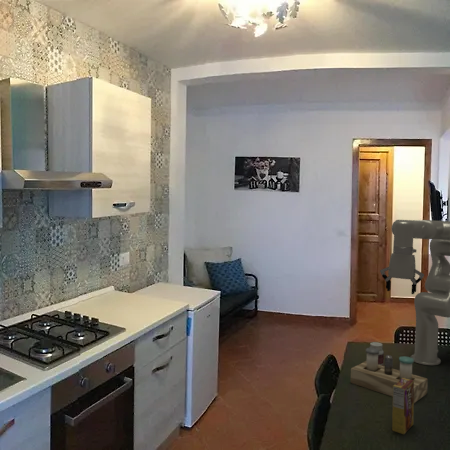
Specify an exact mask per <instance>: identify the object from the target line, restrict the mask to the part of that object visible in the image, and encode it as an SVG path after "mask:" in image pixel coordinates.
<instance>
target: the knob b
mask: <svg viewBox="0 0 450 450" xmlns="http://www.w3.org/2000/svg"><path fill="white" fill-rule="evenodd" d="M398 361H399V371H400V377H399V379H400V380H401V379H402V378H405V379H410V380H412V374H413V364H414V363H415V362H414V359H413V358H411V356H410V357H409V356H404V355H403V356H399V357H398Z"/></svg>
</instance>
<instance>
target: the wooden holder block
mask: <svg viewBox="0 0 450 450" xmlns="http://www.w3.org/2000/svg"><path fill="white" fill-rule="evenodd" d="M366 362H367V360H365V361H363V362H362V363H360V364H357V365H355V366H353V367H351V368H350V384H353V385H356V386H359V387H362V388H365V389H368V390H371V391H373V392H374V391H375V392H377V393H380V394H384V395H387V396H390V397H392V398H393V386H394V385H395V384H396V383H397V382H398V381H400V379H399V377H400V369H395V368H393V369H392V375H387V374H385V373H384V368H385V365H383V366H382V365H378V370H377V371H369V370H367V369H366ZM412 380H413V381H414V404H415V403H416V402H418V401H419V400H420V399H422V398H423V397H425V396H426V395H427V394H428V378H426V377H423V376H420V375H416V374H413V373H412Z"/></svg>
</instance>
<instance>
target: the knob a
mask: <svg viewBox="0 0 450 450" xmlns="http://www.w3.org/2000/svg"><path fill="white" fill-rule="evenodd" d="M365 353H366V361H367V362H366V369H367V370H369V371H377V370H378V354H379V349H376V348H370V347H366V348H365Z"/></svg>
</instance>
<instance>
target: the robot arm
mask: <svg viewBox="0 0 450 450" xmlns="http://www.w3.org/2000/svg"><path fill="white" fill-rule="evenodd" d="M391 233H392V234H393V249H392V253H391V254H390V258H389V265H388V266H387V267H385V268H382V269H380V271H379V272H380V275H381V276H382V278H383V279H384V281H385V282H386V283H385V289H386V291H387V292H389V291H391V286H392V281H391V279H393V278H394V279H403V280H410V281H411V283H412V284H411V292H410V293H411V295H415V293H416V292H417V286H418V285H417V284H419V283H420V282H421V281H422V280H423V279H424V276H425V274H424V273H422V272H421V271H420V270H418V269H416V256H415V254H414V253H417V249H415V248H414V239H416V240H418V239H420V240H430V242H429V253H430V257H431V267H430V269H429V272H428V275H427V276H426V279H425V283H424V289H425V290H426V291H427V292H426V291H424V292H422V291H421V292H418V293H417V294H416V295H415V296H414V303H413V304H414V310H415V333H414V336H415V339H414V353H413V354H412V355H410V358H413V359H414V362H413V363H416V364H420V365H424V366H438V365H440V364H441V362H442V361H441V359H440V358H439V357H438V353H439V349H438V346H439V345H438V343H439V340H438V339H439V322H438V319H437V317H440V318H441V317H442V318H450V262H449V260H448V259H447V258H446V256H447V257H450V221H448V220H447V221H446V220H444V221H443V220H431V219H414V220H413V219H396V220H395V221H394V222H393V223H392V225H391ZM386 272H388V276H387V274H386ZM416 275H418V276H419V277H418V278H417V279H416Z"/></svg>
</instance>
